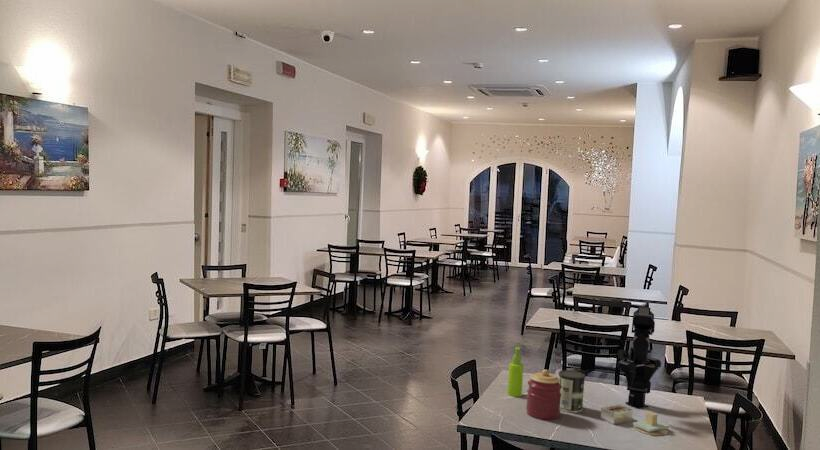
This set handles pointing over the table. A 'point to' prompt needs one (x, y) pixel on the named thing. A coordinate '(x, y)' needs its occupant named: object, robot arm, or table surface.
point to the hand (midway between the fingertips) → (637, 385)
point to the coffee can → (571, 391)
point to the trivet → (656, 433)
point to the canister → (544, 395)
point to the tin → (616, 414)
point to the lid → (651, 423)
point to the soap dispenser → (515, 375)
